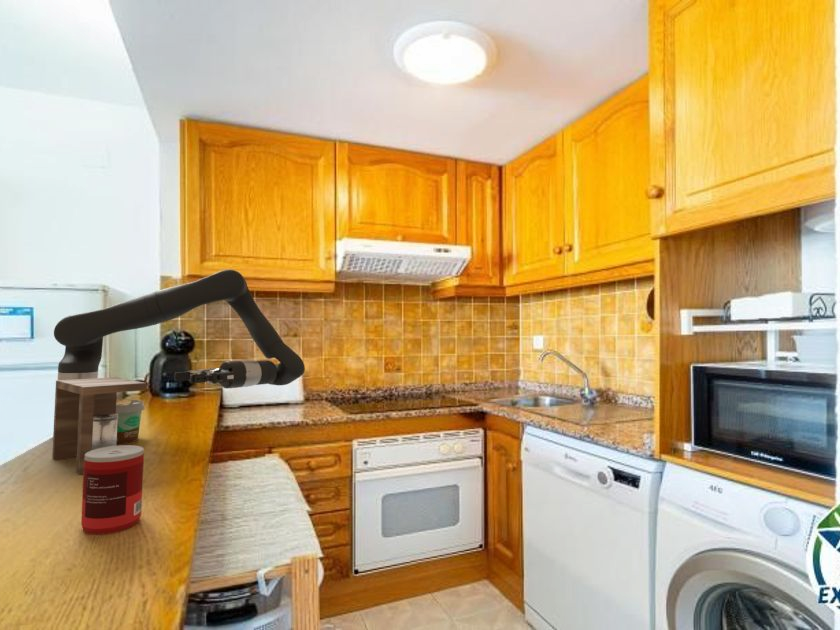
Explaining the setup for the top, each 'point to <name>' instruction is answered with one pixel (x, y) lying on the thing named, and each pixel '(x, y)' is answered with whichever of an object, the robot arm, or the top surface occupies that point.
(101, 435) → the steel tin
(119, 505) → the canned food
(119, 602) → the top surface
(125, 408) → the food container
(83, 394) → the walnut shelf
